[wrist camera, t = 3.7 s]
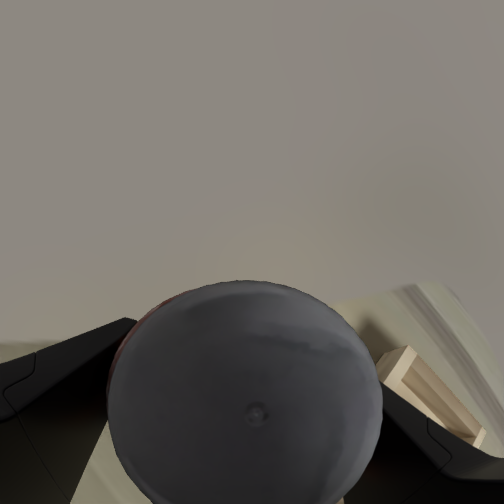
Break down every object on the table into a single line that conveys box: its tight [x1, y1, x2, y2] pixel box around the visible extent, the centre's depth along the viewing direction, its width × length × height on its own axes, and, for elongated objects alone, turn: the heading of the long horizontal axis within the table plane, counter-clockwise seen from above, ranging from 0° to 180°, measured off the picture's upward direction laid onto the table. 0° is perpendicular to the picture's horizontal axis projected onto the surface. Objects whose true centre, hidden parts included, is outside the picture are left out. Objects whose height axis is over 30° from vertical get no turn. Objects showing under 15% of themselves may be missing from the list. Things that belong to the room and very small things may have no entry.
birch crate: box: [336, 345, 486, 504], centre depth 11 cm, size 10×10×2 cm
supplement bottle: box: [106, 280, 383, 504], centre depth 8 cm, size 6×6×11 cm
